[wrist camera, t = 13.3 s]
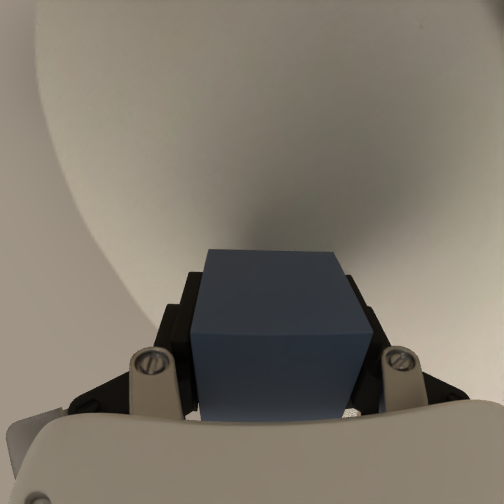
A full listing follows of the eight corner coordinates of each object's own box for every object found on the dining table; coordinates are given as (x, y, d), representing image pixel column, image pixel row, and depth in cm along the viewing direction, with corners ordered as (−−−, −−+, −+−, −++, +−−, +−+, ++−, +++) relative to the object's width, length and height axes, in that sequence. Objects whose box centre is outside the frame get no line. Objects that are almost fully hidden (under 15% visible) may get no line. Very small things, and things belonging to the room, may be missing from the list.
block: (211, 344, 14) (202, 432, 10) (208, 248, 12) (189, 332, 8) (316, 344, 14) (336, 429, 10) (333, 251, 12) (374, 331, 8)
